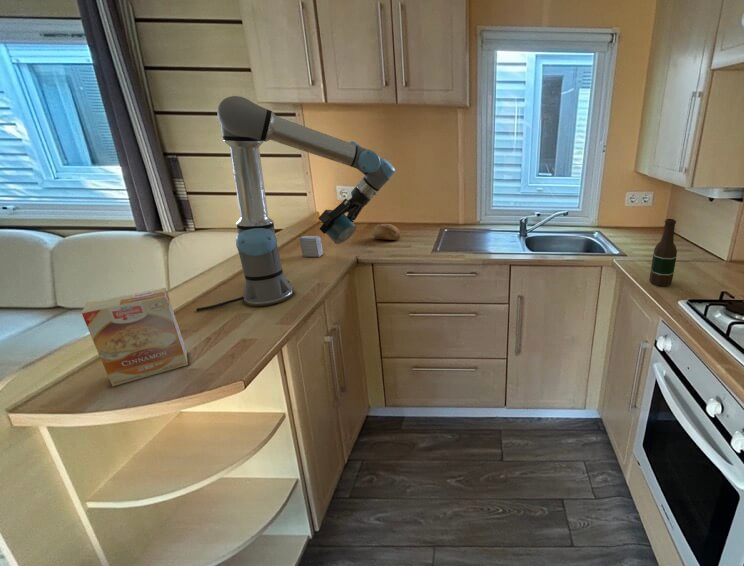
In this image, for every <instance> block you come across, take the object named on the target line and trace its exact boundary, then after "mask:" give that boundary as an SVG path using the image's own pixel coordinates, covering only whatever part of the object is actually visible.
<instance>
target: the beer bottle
mask: <svg viewBox="0 0 744 566" xmlns="http://www.w3.org/2000/svg"><path fill="white" fill-rule="evenodd" d="M676 224H677V220H675V219H674V218H665V220H664V227H663V230H662V235H661V238H660V241H659V242H658V243H657V244H656V246H655V247H654V249H653V253H652V260H651V267H650V273H649V282H650V283H651V284H652V285H653V286H657V287H665V288H666V287H669V286H671V285H672V283H673V280H674V279H673V278H674V274H675V273H674V272H675V268H676V261H677V255H678V249H677V246H676V244H675V242H674V240H675V239H674V237H675V227H676Z"/></svg>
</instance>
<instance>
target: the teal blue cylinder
mask: <svg viewBox="0 0 744 566" xmlns="http://www.w3.org/2000/svg"><path fill="white" fill-rule="evenodd" d="M328 218H329V217H328ZM328 218H327V219H328ZM327 219H326V220H325V221H324V222H323V223H322V224H321V226H322V225H323V224H324V223H325V222H326V221H327ZM356 230H357V226H356V224H354V222H353V223H352V222H351V220H350V219H349V218H348V217H347V215H346V213H345V214H344V215H342V216H341V217H339V218H338V219H337V220H335V223H334V224H333V225H332V226H331V227H330V229H329V230H328V231H327V232H326V233H325V234H326V235H327V236H328V237H329V238H330V240H331V241H332V242H333V243H334V244H335V245H340V244H342V243H344V242H346V241H347V240H348V239H349V238H351V237H352V236H353V235H354V233H355V232H356Z"/></svg>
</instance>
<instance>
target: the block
mask: <svg viewBox="0 0 744 566" xmlns="http://www.w3.org/2000/svg"><path fill="white" fill-rule="evenodd" d="M333 210H334V209H324V210H323V212H322V213H321V214H320V215H319V217H317V218H318V220H319V221H320V222H321V223H322V224H323V222H324V221H325V220H326V219H327V218H328V216H327V215H328V214H329V213H330V212H332V211H333Z"/></svg>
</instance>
